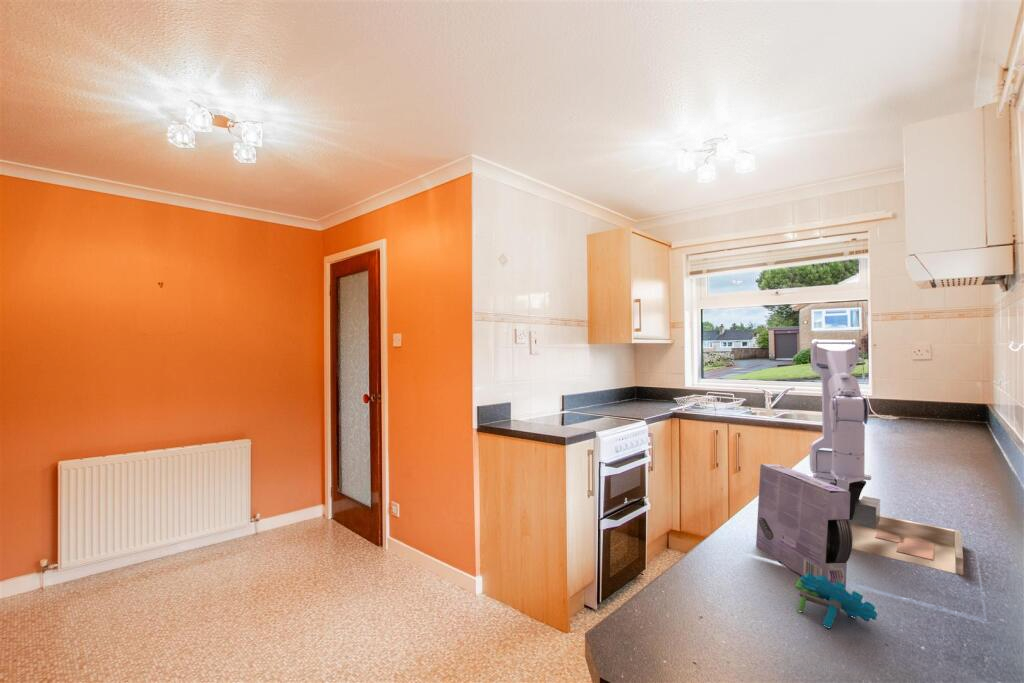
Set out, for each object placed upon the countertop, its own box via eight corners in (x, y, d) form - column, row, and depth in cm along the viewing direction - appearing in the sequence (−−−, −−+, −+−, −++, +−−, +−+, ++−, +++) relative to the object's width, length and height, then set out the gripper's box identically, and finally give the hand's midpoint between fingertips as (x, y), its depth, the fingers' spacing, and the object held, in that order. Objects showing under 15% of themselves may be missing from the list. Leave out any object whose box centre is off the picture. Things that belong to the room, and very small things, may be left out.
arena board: (816, 542, 104) (816, 526, 104) (831, 520, 117) (831, 505, 117) (963, 578, 88) (963, 558, 88) (960, 548, 102) (961, 531, 102)
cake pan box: (854, 592, 83) (855, 489, 83) (829, 595, 82) (829, 490, 82) (776, 546, 102) (776, 462, 102) (754, 547, 101) (755, 463, 101)
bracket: (823, 517, 105) (824, 496, 105) (830, 509, 110) (831, 490, 111) (875, 529, 98) (876, 507, 99) (879, 520, 104) (880, 499, 104)
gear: (892, 622, 71) (857, 581, 69) (880, 660, 69) (843, 619, 66) (817, 597, 81) (784, 560, 79) (805, 629, 78) (770, 593, 76)
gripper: (866, 461, 95) (866, 530, 95) (875, 449, 106) (874, 511, 106) (824, 455, 100) (824, 521, 100) (836, 445, 111) (836, 504, 111)
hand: (847, 515), depth 103 cm, fingers closed on bracket, 4 cm apart
